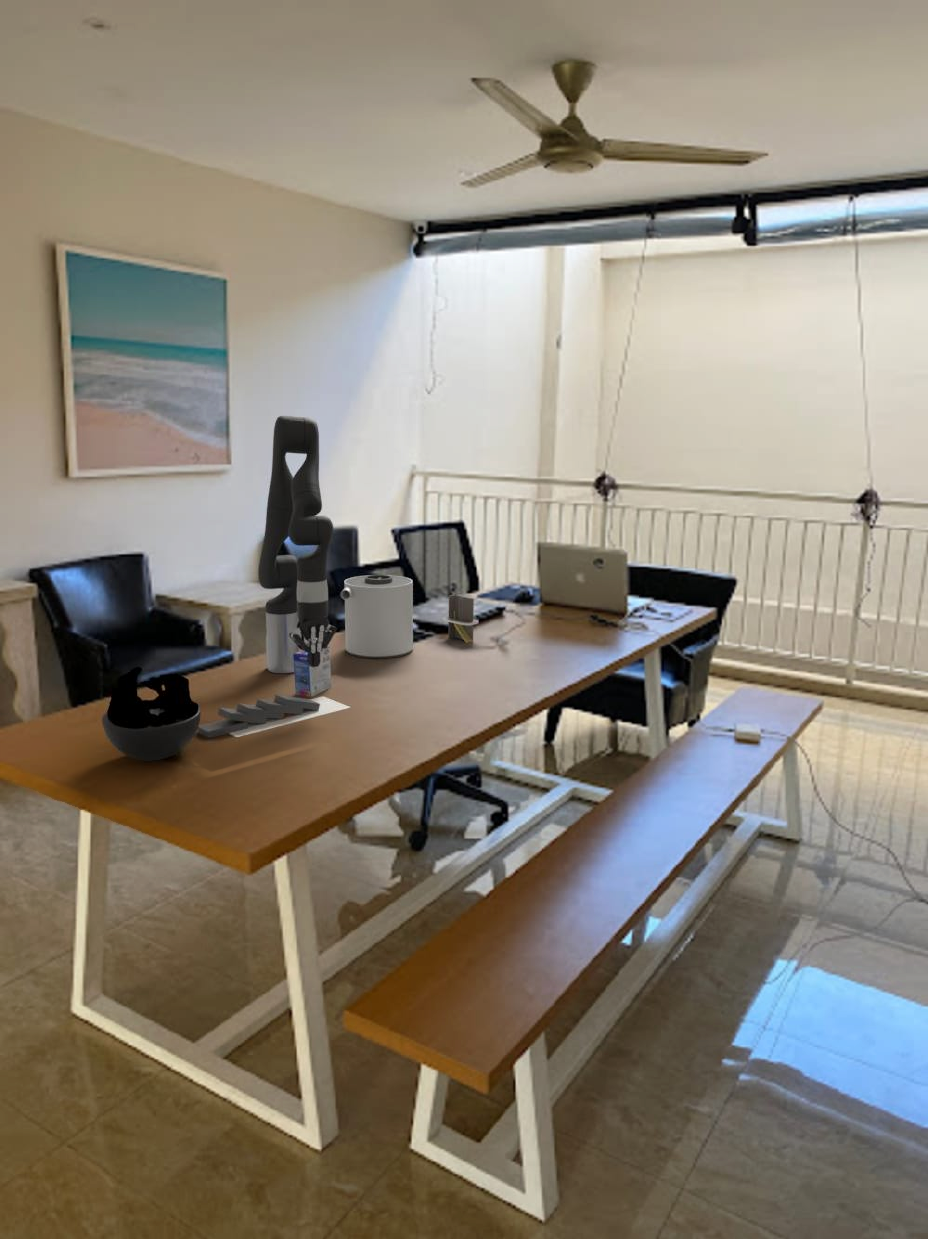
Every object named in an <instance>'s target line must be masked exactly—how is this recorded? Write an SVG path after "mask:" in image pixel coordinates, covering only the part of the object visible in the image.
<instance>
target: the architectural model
mask: <svg viewBox="0 0 928 1239" xmlns="http://www.w3.org/2000/svg"><path fill="white" fill-rule="evenodd" d="M474 601H475V599H474V598H472V597H467V596H464V595H463V596H461V595H458V594H452V595H449V596H448V616H444V617H443V621H444V622H448V639H452V638H456V639H460V640H464V642H465V643H466V644H468V643H473V642H474V625H478V624H479V619H474V612H475V610H474V605H475V604H474Z"/></svg>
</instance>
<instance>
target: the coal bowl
mask: <svg viewBox="0 0 928 1239" xmlns="http://www.w3.org/2000/svg"><path fill="white" fill-rule="evenodd" d="M142 671H143V668H142V667H141V666H136V667H134V668H132V669H130V670H129V671H128V672H126V673H125V674H123V675H121V676H119V677H118V678H117V680H116V683H117V685H116V686H115V687H114V688H113V690H112V692H111V694H110V701H109V703H108V708H107V711H106V712H105V713H104V714H103V715H102V717H101V724H102V728H103V731H104V734H105V735H106V737H107V739H108V740H109V742H110V743H111V744H112V746H114V748H115V749H117V750H118V751H119V752H121V753H122V754H124V755H125V756H127V757H129V758H132V759H134V760H140V761H144V760H145V762H146V761H147V762H151V761H152V762H153V761H154V760H155V761H160V760H164V759H167V758H170V757H172V756H174V755H175V754H178V753H180V752H181V751H183V749H184V748H186V747H187V746H188V744H190V742H191V740H192V739H194V736H195V735H196V733H197V732H198V730H197V728H198V726H200V721H201V712H202V710H201V707H200V706H199V704H198V702H197V701H193V699H192V698H191V692H190V682H189V681H190V680H189V678H187V677H185V676H183V675H180V674H179V673H174V674H173V673H167V674H161V675H159V677H154V676H152V677H149V679H148V680H143V681H140V682H139V685H141V686H143V687H145V688H148V689H149V690H153V691H155V692H156V693H157V695H158V696H156V697H155V698H153V699H142V697H140V696H138V689H137V687H138V682H137V681H138V677H139V676H140V674H142ZM163 686H164V690H163Z"/></svg>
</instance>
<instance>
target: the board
mask: <svg viewBox="0 0 928 1239" xmlns="http://www.w3.org/2000/svg"><path fill="white" fill-rule="evenodd" d="M309 700H312V701H314V702H317V703H319V704H320V707H319V710H313V709H305V708H303V710H302V714H292V713H284V717H283V719H277V718H269V717H267V719H266V723H265V724H262V723H253V722H247V725H248V728H247V729H243V730H240V731H236V732H232V733H228V734H229V735H231V736H233V737H235V738H239V737H244V736H247V735H251V734H255V733H259V732H263V731H266V730H270V729H274V728H277V727H278V728H279V727H282V726H285V725H289V724H293V723H294V724H295V723H298V722H301V721H305V720H308V719H309V720H310V719H313V718H316V717H320V716H324V715H327V714H333V713H335V712H339V711H343V710H346V709H351V706H348V705H346V704H343V703H341V702H340V701H339V702H338V701H336V700H333V699H330V698H328V697H325V696H324V695H323V696H319V697H315V698H311V699H309Z"/></svg>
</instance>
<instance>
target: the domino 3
mask: <svg viewBox="0 0 928 1239" xmlns="http://www.w3.org/2000/svg"><path fill="white" fill-rule="evenodd" d="M235 710H238V711H240V712H242V713H244V714H246V715H252V716H260V717H269V718H277V719H283V717H284V712H275V711H267V710H265V709H262V708H260V707H258V706H256V704H254V705H253V704H248V703H239V702H238V703H237V706H236V709H235Z"/></svg>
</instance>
